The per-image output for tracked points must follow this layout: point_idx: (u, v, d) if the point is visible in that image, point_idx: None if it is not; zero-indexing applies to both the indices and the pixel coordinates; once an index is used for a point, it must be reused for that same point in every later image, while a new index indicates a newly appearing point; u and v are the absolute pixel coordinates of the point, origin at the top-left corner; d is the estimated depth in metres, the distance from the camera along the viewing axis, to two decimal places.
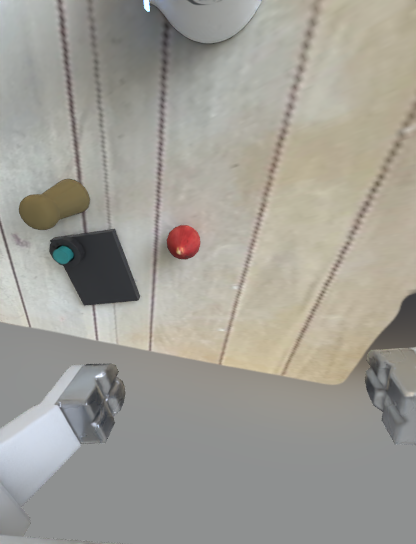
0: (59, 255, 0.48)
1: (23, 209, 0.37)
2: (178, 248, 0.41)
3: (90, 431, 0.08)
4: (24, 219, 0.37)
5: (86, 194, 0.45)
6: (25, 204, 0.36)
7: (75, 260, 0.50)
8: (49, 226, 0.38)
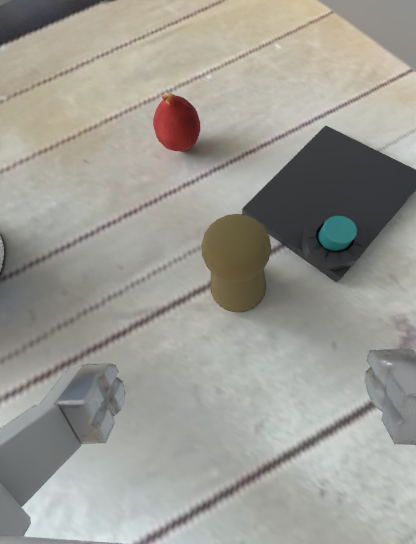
0: (338, 232, 0.24)
1: (233, 256, 0.18)
2: (165, 101, 0.29)
3: (90, 431, 0.08)
4: (255, 248, 0.18)
5: None
6: (219, 256, 0.18)
7: None
8: None
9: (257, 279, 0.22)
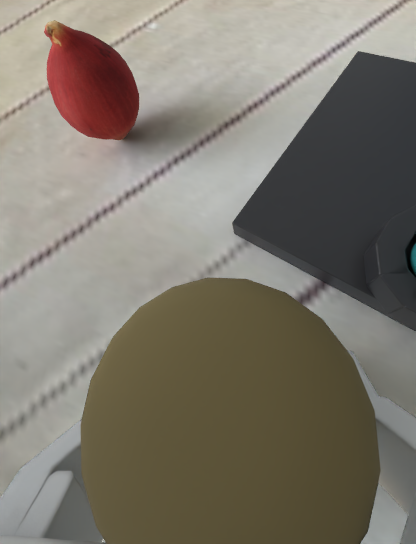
0: None
1: None
2: (52, 39, 0.15)
3: None
4: (326, 493, 0.03)
5: None
6: None
7: None
8: (224, 280, 0.05)
9: None
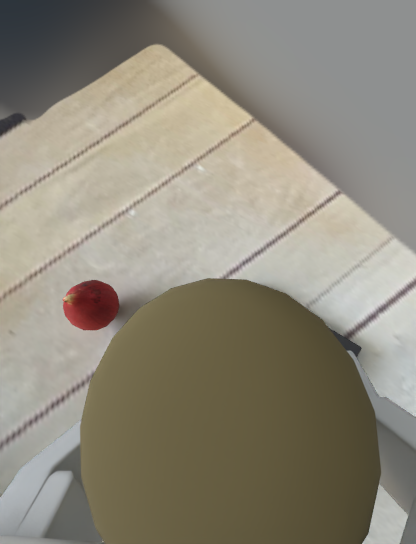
0: None
1: None
2: (67, 302, 0.27)
3: None
4: (327, 495, 0.03)
5: None
6: None
7: None
8: (224, 280, 0.05)
9: None
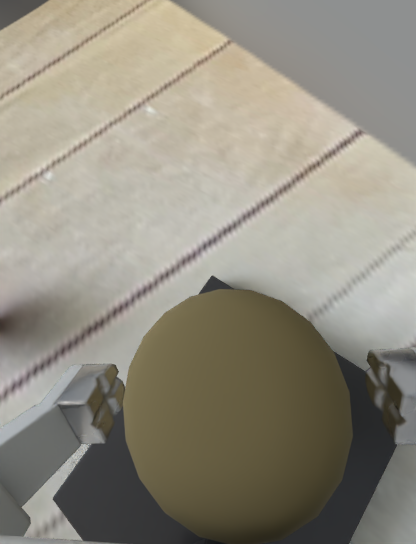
0: None
1: (228, 493, 0.04)
2: None
3: (90, 431, 0.08)
4: (310, 448, 0.04)
5: None
6: (174, 493, 0.05)
7: None
8: (233, 291, 0.06)
9: None
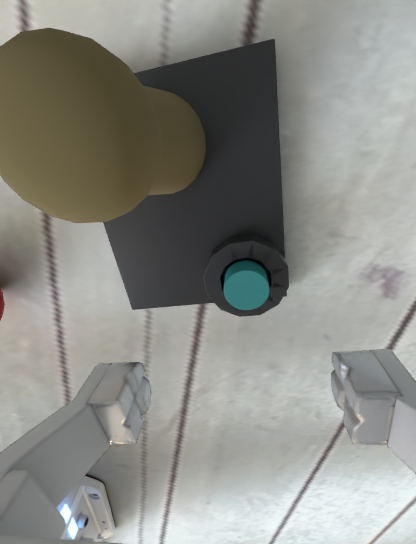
0: (248, 295, 0.17)
1: (90, 176, 0.07)
2: None
3: (121, 431, 0.07)
4: (98, 111, 0.06)
5: None
6: (76, 203, 0.07)
7: (222, 262, 0.18)
8: None
9: (171, 129, 0.11)
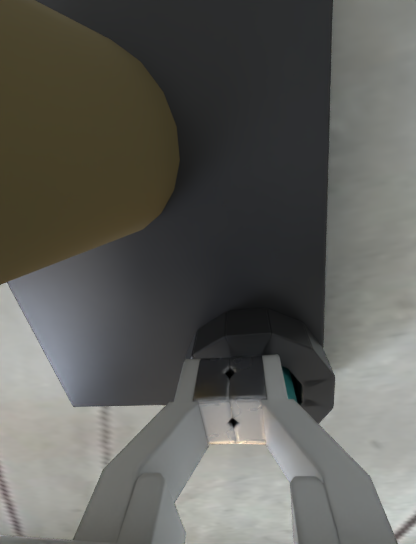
0: None
1: None
2: None
3: (223, 430, 0.07)
4: None
5: None
6: None
7: None
8: None
9: None
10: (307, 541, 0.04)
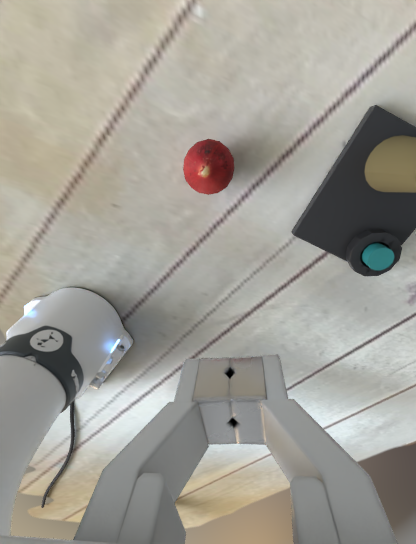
0: (379, 262, 0.32)
1: None
2: (203, 176, 0.27)
3: (223, 430, 0.07)
4: None
5: (373, 152, 0.29)
6: None
7: (374, 239, 0.32)
8: None
9: None
10: (307, 541, 0.04)
